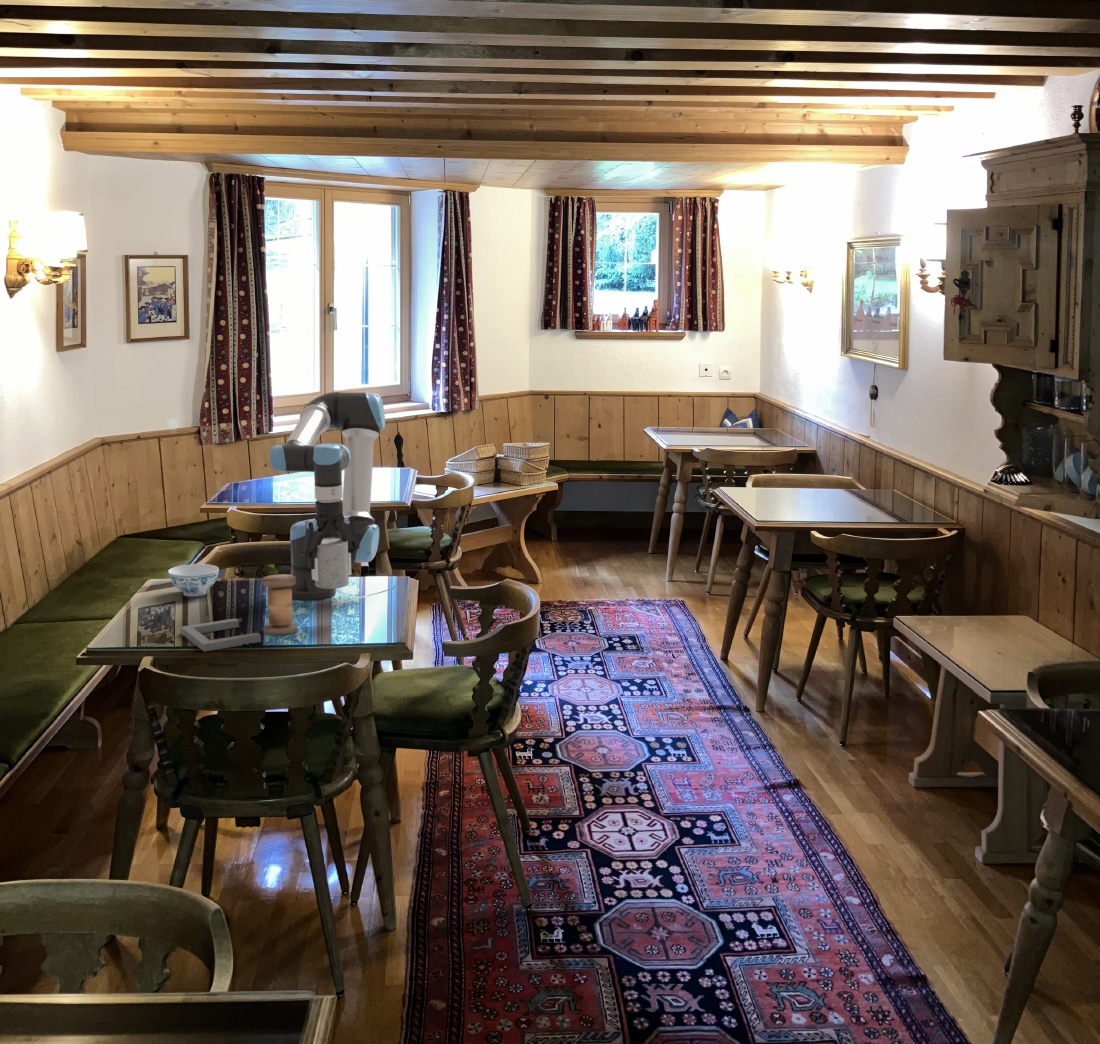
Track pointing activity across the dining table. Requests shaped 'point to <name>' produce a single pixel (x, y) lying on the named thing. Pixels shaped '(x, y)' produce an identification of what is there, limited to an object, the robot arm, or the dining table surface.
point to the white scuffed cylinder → (332, 563)
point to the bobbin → (279, 604)
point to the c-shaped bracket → (207, 645)
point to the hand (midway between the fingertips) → (331, 576)
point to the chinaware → (193, 578)
